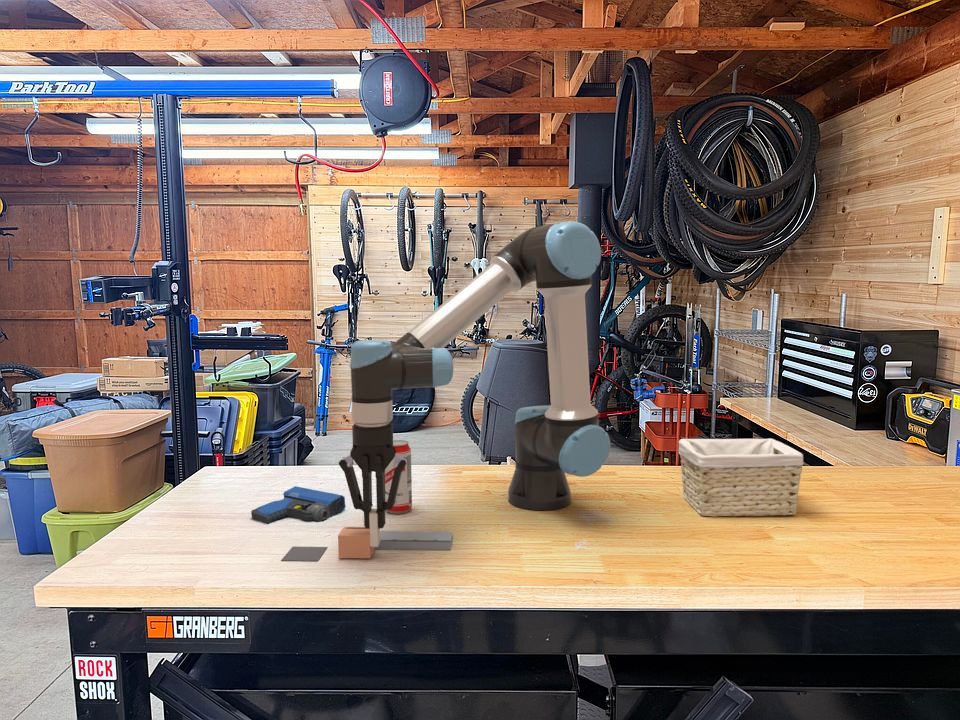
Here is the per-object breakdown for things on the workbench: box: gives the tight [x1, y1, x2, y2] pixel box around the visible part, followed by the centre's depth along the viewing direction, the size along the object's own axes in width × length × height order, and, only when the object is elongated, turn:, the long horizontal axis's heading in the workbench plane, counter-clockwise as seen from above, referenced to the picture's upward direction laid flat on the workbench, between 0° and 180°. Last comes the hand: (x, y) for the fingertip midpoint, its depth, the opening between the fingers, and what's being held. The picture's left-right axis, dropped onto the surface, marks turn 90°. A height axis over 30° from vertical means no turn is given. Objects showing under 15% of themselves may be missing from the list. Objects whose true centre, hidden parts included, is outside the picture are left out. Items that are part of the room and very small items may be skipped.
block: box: [337, 526, 376, 559], centre depth 121 cm, size 6×4×4 cm
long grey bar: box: [375, 530, 454, 551], centre depth 127 cm, size 22×5×2 cm, turn 88°
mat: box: [280, 546, 328, 562], centre depth 122 cm, size 7×6×1 cm
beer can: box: [385, 439, 413, 515], centre depth 146 cm, size 6×6×16 cm
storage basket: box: [678, 438, 804, 518], centre depth 147 cm, size 24×16×15 cm
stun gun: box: [250, 485, 346, 525], centre depth 144 cm, size 4×16×15 cm
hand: (375, 543), depth 121 cm, fingers closed
